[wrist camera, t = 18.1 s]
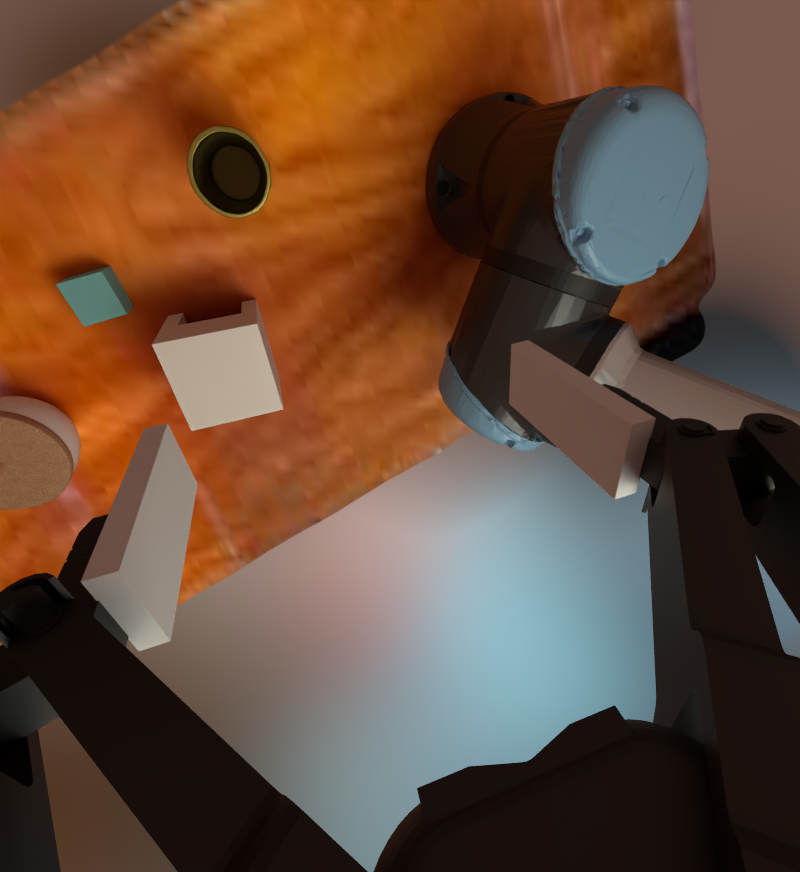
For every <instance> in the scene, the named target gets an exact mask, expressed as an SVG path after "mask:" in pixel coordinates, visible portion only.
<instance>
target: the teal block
mask: <svg viewBox="0 0 800 872" xmlns="http://www.w3.org/2000/svg"><path fill="white" fill-rule="evenodd" d="M56 286H57V287H58V289H59V290H60V292H61V293H62V295H63V296H64V298H65V299H66V301H67V302H68V304H69V305H70V307H71V308H72V309H73V311H74V312H75V314H76V315H77V317H78V318H79V320H80V321H81V323H82V324H83V326H84V327H85V326H88V325H92V324H95V323H99V322H102V321H105V320H109V319H112V318H115V317H119V316H122V315H126V314H128V313H129V311H130V310H131V309H132V308H133V307H134V305H133V304H132V302H131V300H130V299H129V297H128V295H127V294H126V292H125V290H124V288H123V287H122V285H121V283H120V282H119V280H118V278H117V277H116V275H115V273H114V271H113V270H112V268H111V266H107V267H103V268H100V269H96V270H93V271H89V272H85V273H82V274H78V275H75V276H71V277H68V278H65V279H64V280H62V281H60V282H59V283H57V284H56Z"/></svg>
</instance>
